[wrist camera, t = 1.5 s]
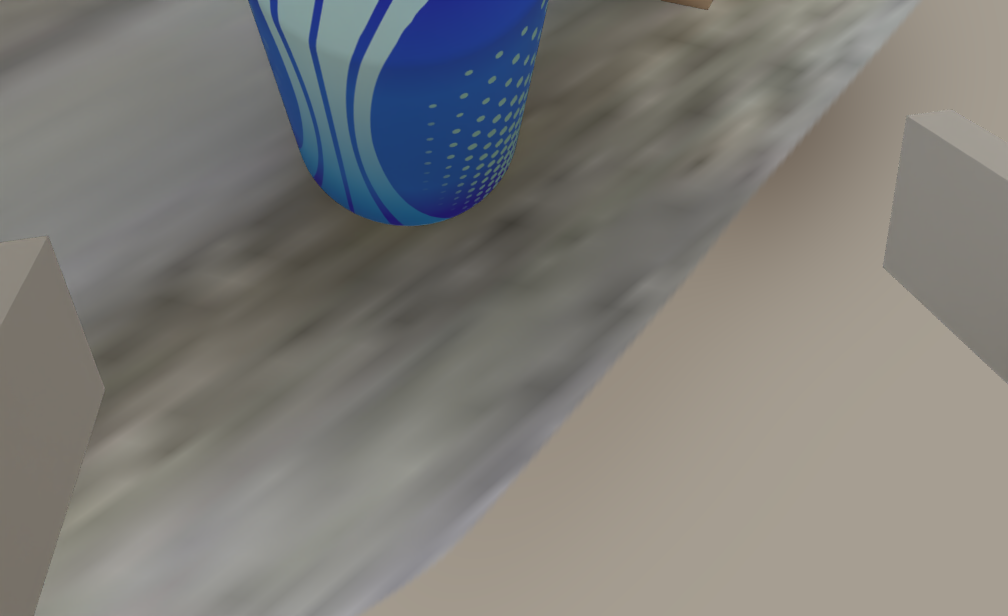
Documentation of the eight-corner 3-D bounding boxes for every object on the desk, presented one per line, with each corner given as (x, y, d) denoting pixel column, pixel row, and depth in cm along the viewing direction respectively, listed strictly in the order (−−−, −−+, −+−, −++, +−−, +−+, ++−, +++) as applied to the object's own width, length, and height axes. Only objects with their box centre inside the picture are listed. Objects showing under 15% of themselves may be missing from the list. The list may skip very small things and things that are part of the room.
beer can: (365, 3, 38) (320, -357, 23) (551, 95, 38) (634, -207, 22) (259, 175, 36) (132, -90, 21) (454, 274, 36) (473, 79, 20)
